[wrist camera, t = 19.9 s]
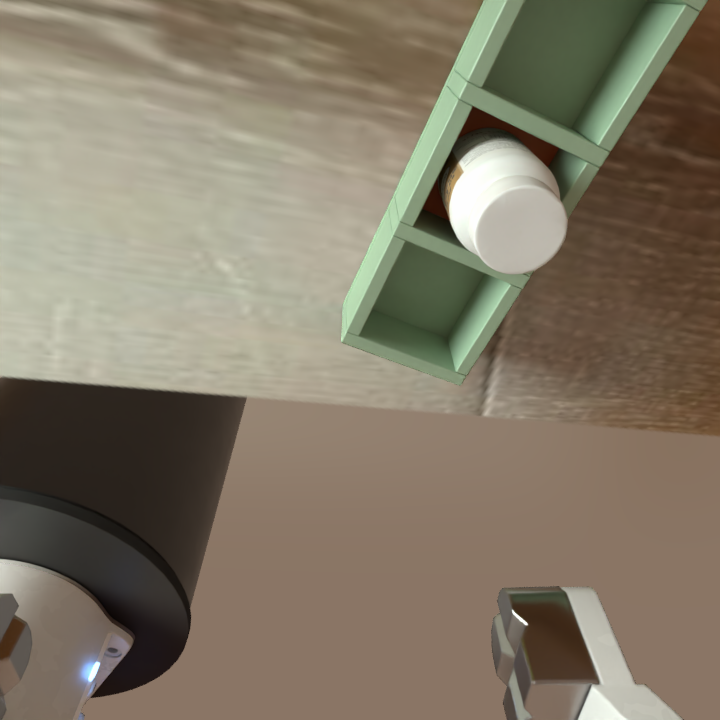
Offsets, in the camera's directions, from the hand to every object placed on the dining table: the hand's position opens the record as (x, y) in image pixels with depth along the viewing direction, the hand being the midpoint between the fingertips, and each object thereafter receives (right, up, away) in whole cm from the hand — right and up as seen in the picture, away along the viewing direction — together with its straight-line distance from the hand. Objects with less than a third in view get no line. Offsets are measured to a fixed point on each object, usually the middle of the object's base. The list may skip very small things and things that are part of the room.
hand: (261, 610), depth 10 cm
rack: (+8, +14, +18) cm, 24 cm away
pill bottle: (+8, +13, +18) cm, 23 cm away
